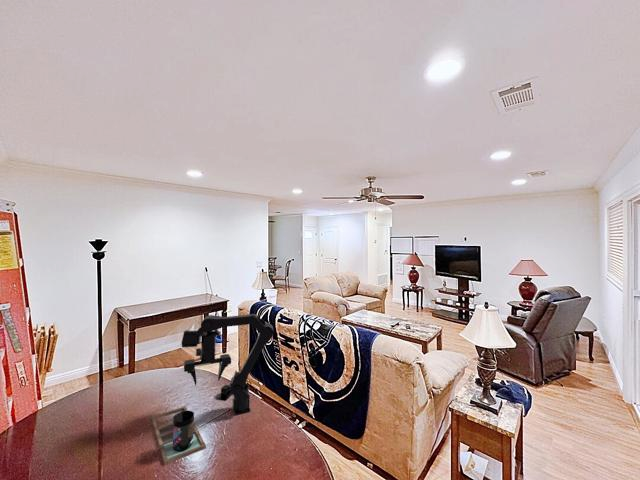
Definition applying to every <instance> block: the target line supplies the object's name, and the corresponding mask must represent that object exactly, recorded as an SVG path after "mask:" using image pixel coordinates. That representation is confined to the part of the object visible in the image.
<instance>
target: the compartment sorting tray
mask: <svg viewBox="0 0 640 480" xmlns="http://www.w3.org/2000/svg"><path fill="white" fill-rule="evenodd" d="M182 411H189V410H188V408H187V407H186V406H182V407H179V408H176V409H172V410H169V411H168V410H167V411H166V412H165V411H164V412H162V413H158V414H156V415H155V414H154V415H152V416H151V418H150V419H151V423H152V427H153V430H154V433H155V436H156V439H157V443H158V447H159V450H160V453H161V458H162V461H163V463H164V464H163V465H164V466H166V465H169V464H171V463H174V462H176V461H178V460H180V459H182V458H186V457H189V456H190V455H193V454H195V453H198V452H200V451H203V450H206V449H207V445H206V443H205V441H204V439H203V437H202V435H201V433H200V431H199V429H198V427H197V426H196V423H195V422H194V427H193V443H192V445H191V447H190V448H188V449H187V450H184V451H180V452H178V451H175V450H174V449H173V447H172V444H173V422H172V423H169V424H166V425H162V426H161V427H160V426H159V427H158V424H157V419H161V418H162V417H166V416H170V415H173V414H175V413H176V414H177V413H179V412H182Z"/></svg>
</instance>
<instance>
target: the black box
mask: <svg viewBox="0 0 640 480" xmlns="http://www.w3.org/2000/svg"><path fill="white" fill-rule="evenodd" d="M230 387H231V386H230V384H224V385H223V386H221V389H220V394H219V395H220V396H219V395H218V396H217V397H216V398H215V400H217V401H224V402H226V401H227V400H228V399H229V398H230V397H231V396H233V395H232V394H231V392H230Z"/></svg>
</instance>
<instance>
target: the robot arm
mask: <svg viewBox="0 0 640 480" xmlns="http://www.w3.org/2000/svg"><path fill="white" fill-rule="evenodd" d="M245 325H251V326H252V327H253V328H254V329H255V330H256V331H257V332H258V335H257V338H256V341H255V343H254V344H253V347H252V348H251V350H250V352H249V354H248V356H247V358H246V360H245V361H244V363H243V366H242V367H241V369H240V370H239V371H237V370H235V372H234V374H233V376H232V377H231V378H230V383H229V385H230V392H231V394H232V395H231V396H233V399H232V403H231V404H232V412H234V415H235V416H237V415H240V414H241V415H242V414H245V413H249V412H251V408H250V397H251V395H250V393H249V391H250V385H249V384H248V383H247V381H248V377H249V375H250V373H251V371H252V370H253V367H254V365H255V364H256V362H257V360H258V358H259V356H260V355H261V353H262V350H263V349H264V348H265V346H266V345H267V344H268V343H269V342H270V341H271V339H272V338H273V336H274V334H275V333H274V326H273V325H272V324H271V323H269V322H266V321H265V320H264V319H262V318H260V317H259V316H258V315H257V314H255V313H251V314H242V315H241V314H240V315H232V316H230V315H229V316H220V315H215V314H214V315H211V314H209V315H207V316H205V317H204V319H203V320H202V321H201V323H200V327H198V329H197V330H189V329H188V330H187V329H186V330H184V331H183V335H182V340H181V347H182V348H195V356H196V357H199V360H197V361H195V359H194V358H193V359H188V360H186V359H185V360H184V361H183V372H187V374H190V375H191V378H192V380H193V381H194V385H195V386H197V374H196V368H195V367H200V366H207V365H214V364H218V373H217V381H220V379H221V377H222V375H223V373H224V371H225V369H226V367H229V365H231V364H232V357H231V355H230V354H229V353H225V354H220V355H219V357H217V358H216V337H219V336H220V335H221V332H220V331H219V329H222V328H228V327H237V326H245ZM200 344H201V345H200ZM199 345H200V346H201V347H200V348H197V347H198V346H199Z"/></svg>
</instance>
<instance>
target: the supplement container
mask: <svg viewBox="0 0 640 480" xmlns="http://www.w3.org/2000/svg"><path fill="white" fill-rule="evenodd" d="M194 421H195V413H194V411H191V410H188V411H184V410H183V411H179V412H176V414H175V415H174V416H173V419H172V423H173V444H172V447H173V449H174V450H175V451H178V452H180V451H184V450H187V449H188V448H190V447H191V445H192V443H193V427H194V423H195V422H194Z"/></svg>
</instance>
